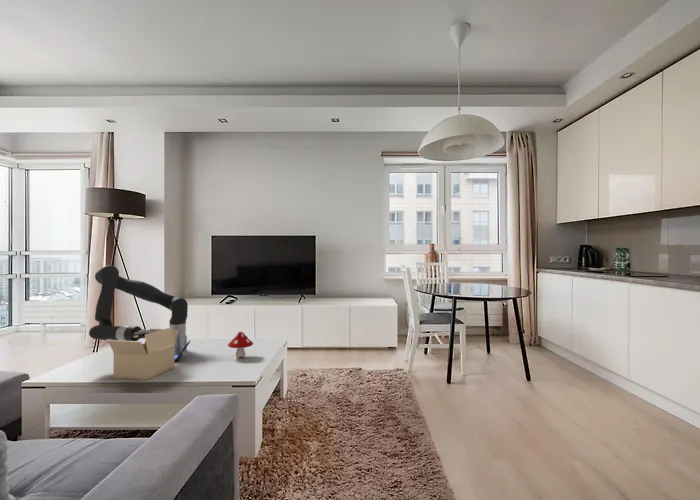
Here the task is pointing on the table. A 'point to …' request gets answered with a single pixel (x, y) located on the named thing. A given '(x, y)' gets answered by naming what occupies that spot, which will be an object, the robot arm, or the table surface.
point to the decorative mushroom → (240, 344)
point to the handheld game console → (178, 356)
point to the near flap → (159, 340)
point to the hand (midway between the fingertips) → (159, 334)
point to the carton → (141, 359)
